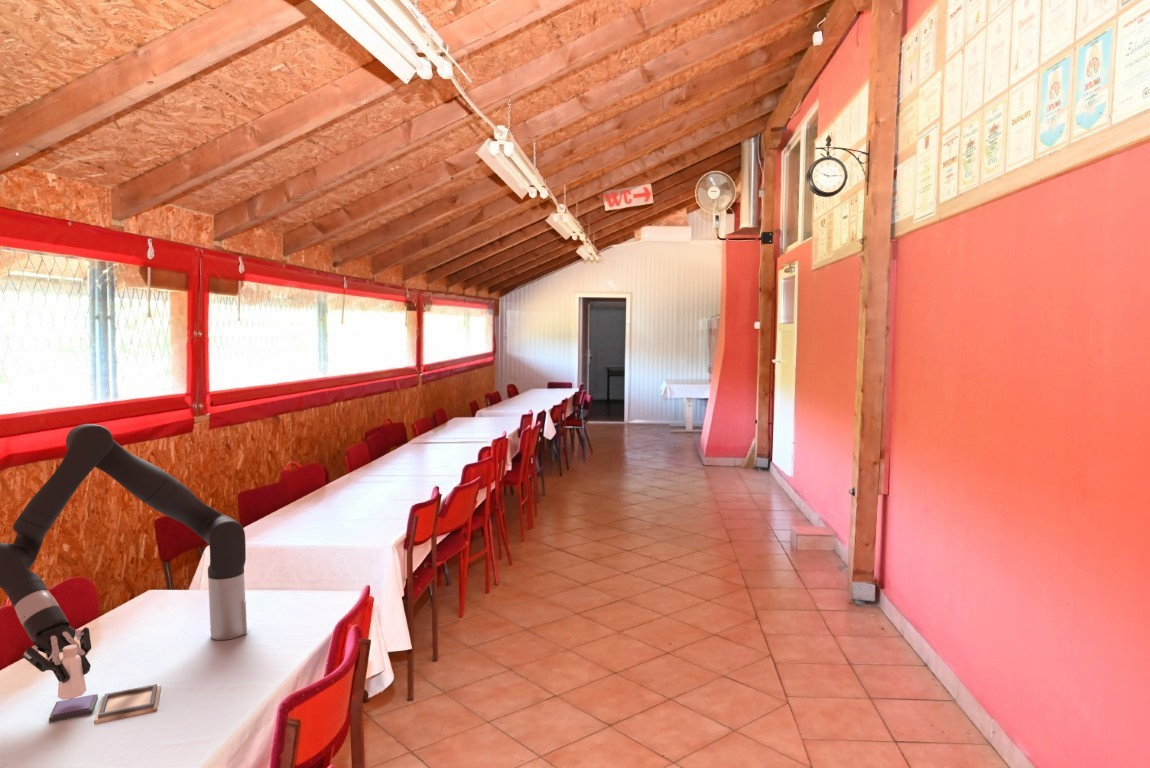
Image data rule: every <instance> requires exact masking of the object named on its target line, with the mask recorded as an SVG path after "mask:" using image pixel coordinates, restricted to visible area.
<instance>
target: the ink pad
mask: <svg viewBox="0 0 1150 768" xmlns="http://www.w3.org/2000/svg"><path fill="white" fill-rule="evenodd" d="M98 698H99V694H98V693H95V694H89V695H85V696H83V695H82V696H78V697H76V698H73V699H64V700H62V699H61V700H58V701H56V702H55V704H54V706H53V708H52V710H51V712H50V714H49V717H48V722H49V723H53V722H59V721H64V720H68V719H69V720H70V719H73V718H78V717H79V718H80V717H85V716H89V715H93V713H94V711H95V708H96V705H97V702H98Z"/></svg>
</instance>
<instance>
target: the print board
mask: <svg viewBox="0 0 1150 768" xmlns="http://www.w3.org/2000/svg"><path fill="white" fill-rule="evenodd" d="M161 691H162V685H158V684H157V683H156V684H150V685H145V686H141V687H135V688H129V689H124V690H119V691H113V692H108V693H105V694H104V695H103V696H101V699H100V701H99V705H98V706H97V710H96V714H95V717H94V719H93V723H94V724H98V723H102V722H108V721H112V720H119V719H123V718H127V717H133V716H137V715H143V714H147V713H152V712H156V711H158V708H159V702H160V695H161Z"/></svg>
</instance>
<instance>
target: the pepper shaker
mask: <svg viewBox="0 0 1150 768" xmlns="http://www.w3.org/2000/svg"><path fill="white" fill-rule="evenodd" d="M62 650H63V652H62V655H63V657H62V658H60V662H61V663H60V665H61V664H63V666H64V667H65V669H66V671H67V672H68V674H69V676H70V679H69V680H68V681H67V682H66V683H62V681H61V682H60V681H58V685H57V686H58V687H57V697H58V698H59V699H60V700H61V701H62V700H67V699H73V698H78V697H82V696H83V695H84V694H85V693H86V692H87V685H86V680H85V675H83V668H82V662H81V657H80V656H79V655H77V645H68V646H66V647H64V648H63V649H62Z"/></svg>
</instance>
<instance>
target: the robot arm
mask: <svg viewBox="0 0 1150 768" xmlns="http://www.w3.org/2000/svg"><path fill="white" fill-rule="evenodd" d="M66 435H67V436H66V439H65V446H66V449H67V451H66V452H65V455H64V457H63V459H62V460H61V463H60V464H59V465H58V466H57V468H56V470H55V471H54V473H53V474H52V475H51V476H50V478H49V479H48V480H47V481H46V482H45V483H44V484H43V485H42V486H41V488H39V490H38V491H36V493H35V494H34V495H33V496H32V498H31V499H30V500H29V501H28V503H27V504H26V505H25V507H24V508H23V509H22V511H21V512H20V514H19V515H18V517H17V518H16V520H15V521H14V523H13V525H12V531H14V533H16V535H15V539H14V541H13V542H12V543H8V542H0V589H2V590H3V592H5V594H6V596H7V598H8V600H9V601H10V603H11V605H12V606H13V608H14V610H15V612H16V616H17V618H18V620H19V621H20V622H19V623H20V624H21V625H22V627H23V629H24V630H25V632H26V634H27V635H28V637H29V639H30V640H31V642H33V643H32V646H30V647H27V649H26V650H25V651H24V653H23V655H22V657H23V659H25V660H26V661H27V662H28V663H30V664H31V665H32V666H33V667H34V668H36V669H37V670H38V671H40V672H43V673H44V672H46V671H51V672H53V674H54V675H55V677H56V679H57V681H58V682H59V681H60V682H61V681H62V683H66V682H67V681H68V680H69V679H70V676H69V674H68V672H67V671H66V669H65V667H64V666H63V664H61V665H60V663H61V662H60V660H61V658H60V653H63V650H62V649H63V648H64V647H66V646H68V645H77V655H79V656H80V657H81V662H82V668H83V675H84V676H85V675H87V674H88V673H89V672H90V670H91V664H90V661H89V660H88V659H87V657H86V656H87V655H88V653H90V651H91V649H92V641H91V636H90V629H89V627H87V626H86V627H83V628H82V629H78V630H77V629H75V628H74V627H72V626H71V625H70V622H69V620H68V618H67V617H66V615H65V612H63V610H62V608H61V606H60V605H59V603H58V602H57V600H56V599H55V597H54V596H53V595H52V593H51V592H50V590H49V589H48V587H47V586H46V584H45V582H44V581H43V579H42V577H40V575H38V574H37V573H35V572H34V571H32V570H30V568H31V567H32V566H33V565H34V563H35V562H36V560H37V558H38V556H39V553H40V551H41V548H42V545H43V543H44V539H45V537H46V534H47V533H48V532H49V530H50V529H51V528H52V526H53V524H55V522H56V521H57V519H58V517H59V516H60V514H61V513H62V511H63V510H64V508H65V507H66V505H67V504H68V502H69V501H70V499H71V498H72V497H73V495H74V493H75V492H76V491H77V490H78V488H79V486H80V485H81V484H82V483H83V482H84V480H85V479H86V478H87V476H88V475H89V474H90V473H91V472H92V471H93V470H94V468H96V469H99V471H102V472H103V473H105V474H106V475H108V476H109V477H111V478H112V479H114V480H115V481H116V482H117V483H118V484H120V486H121V487H123V488H124V489H126V491H128V492H129V493H131V495H133V496H134V497H136V498H137V499H138V500H140V501H141V502H143V503H144V504H146V505H147V506H149V507H150V508H151V509H153V510H155V511H157V512H159V513H160V514H163V515H165V516H166V517H169V518H171V519H173V520H175V521H177V522H180V523H182V524H183V525H185V526H187V527H188V528H189V529H190V530H192V531H193V532H194V533H196V534H197V535H198V537H200V538H201V539H203V541H205V543H207V545H208V546H209V565H208V566H207V582H208V601H209V602H208V603H209V604H208V605H209V606H208V607H209V623H210V624H209V625H210V630H209V631H210V638H211V639H213V640H217V641H223V640H224V641H225V640H231V639H236V638H238V637H241V636H244V635H247V634H248V627H247V626H248V624H247V623H248V621H247V606H246V604H247V603H246V602H247V601H246V586H245V584H246V583H245V564H246V560H247V559H246V555H247V553H246V552H247V549H246V532H245V529H244V527H243V525H242V524H241V523H240V522H238V521H237V520H235V519H234V518H232V517H230V516H228V515H226V514H224V513H222V512H220V511H218V510H216V509H215V508H213V507H211V506H209V505H208V504H206V503H205V502H203V501H202V500H201V499H199V498H198V496H197V495H196V494H194V492H192V491H191V490H190V489H189V488H188V487H187V486H186V485H185V484H184V483H182V482H181V481H180V480H178V479H177V478H175V477H174V476H172V475H171V474H170V473H168V472H167V471H166V470H164V469H162V468H160V467H159V466H157V465H155V464H153V463H151V462H149V461H147V460H146V459H143V458H142V457H139V456H137V455H135V454H133V453H132V452H129V451H128V450H127V449H126V448H124V447H123V446H122V445H120V443H118V442H116V441H115V439H114V436H113V434H112V433H111V431H110V430H109V429H108V428H106V427H105V426H103V425H100V424H94V423H84V424H80V425H77V426H74V427H73V428H72V429H70V431H68V433H67V434H66ZM75 637H76V639H77V641H76V640H75ZM78 641H79V643H78ZM41 653H43V654H45V656H44V655H42V654H41Z"/></svg>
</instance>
